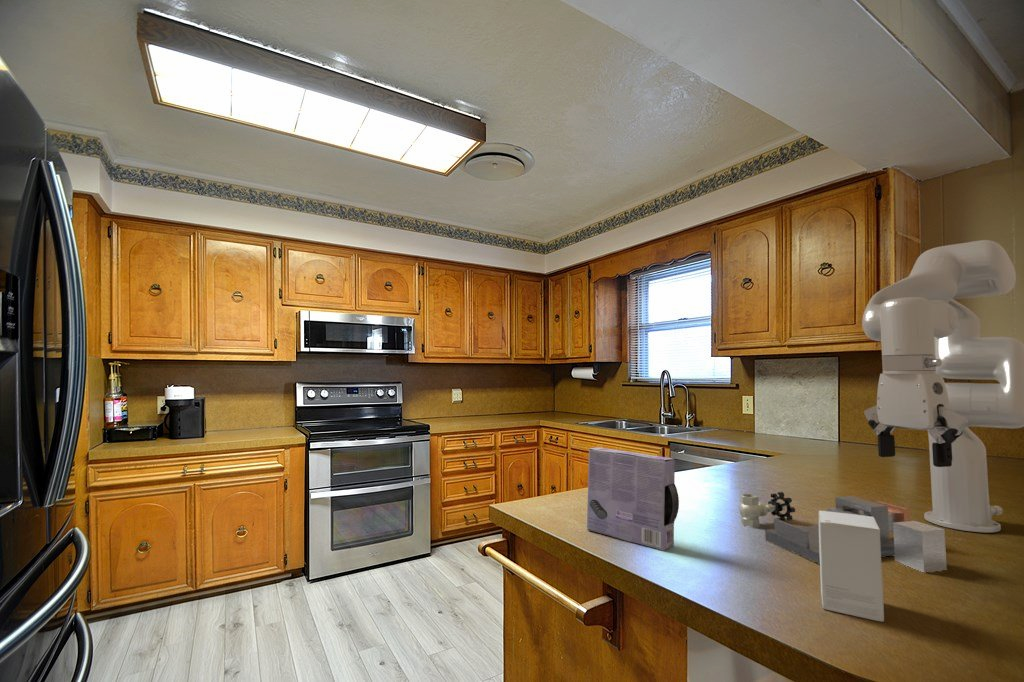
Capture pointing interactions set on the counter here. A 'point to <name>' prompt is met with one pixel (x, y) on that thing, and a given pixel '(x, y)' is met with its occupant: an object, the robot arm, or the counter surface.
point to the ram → (893, 513)
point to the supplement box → (851, 565)
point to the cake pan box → (632, 497)
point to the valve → (763, 508)
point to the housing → (920, 546)
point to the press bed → (808, 536)
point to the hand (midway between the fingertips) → (913, 461)
